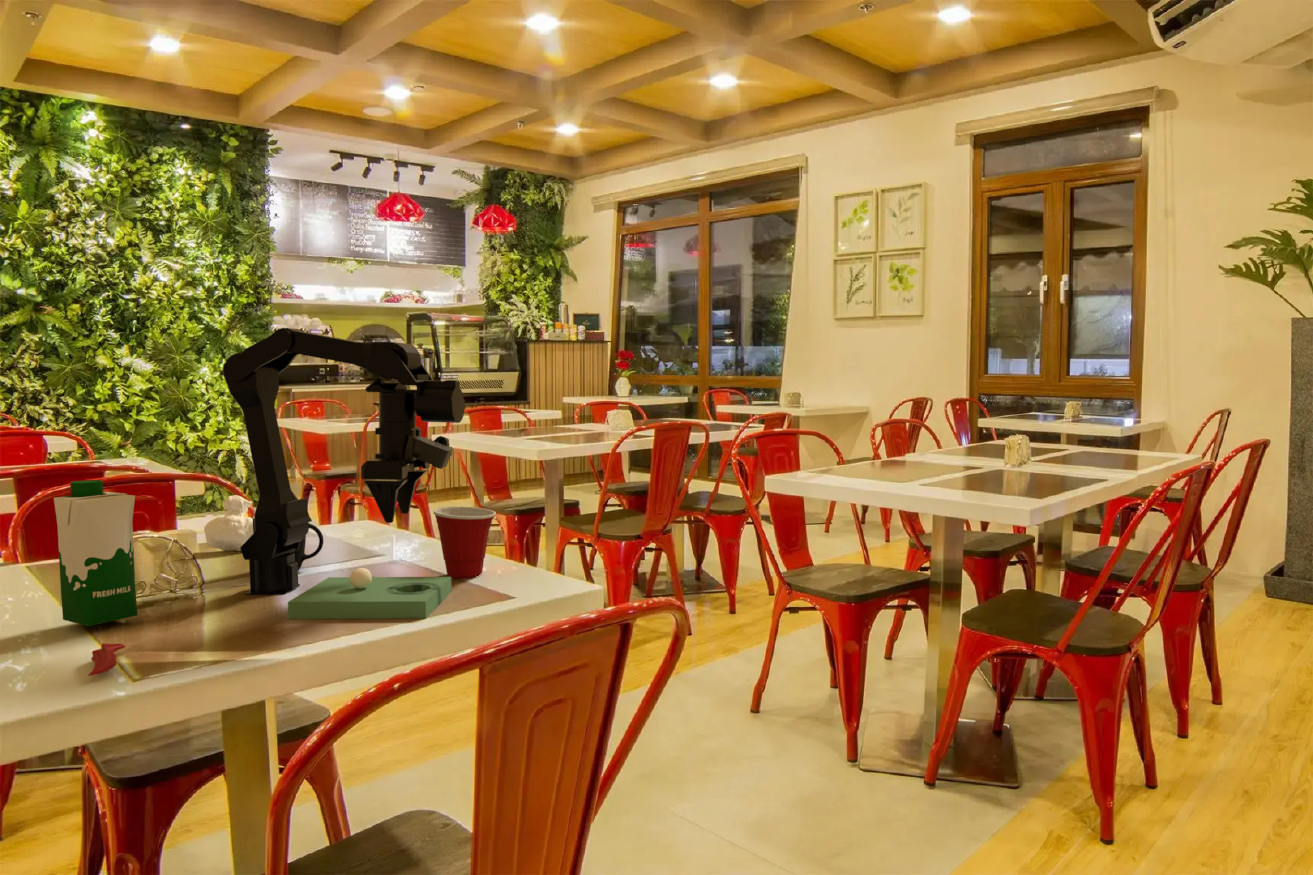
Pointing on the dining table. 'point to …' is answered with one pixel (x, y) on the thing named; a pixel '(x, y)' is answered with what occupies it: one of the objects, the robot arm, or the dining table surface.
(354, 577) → the ball
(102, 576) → the milk carton
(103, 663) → the cayenne pepper
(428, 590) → the putting mat
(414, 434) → the robot arm
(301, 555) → the mug
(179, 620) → the dining table surface
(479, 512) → the plastic cup
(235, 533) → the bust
